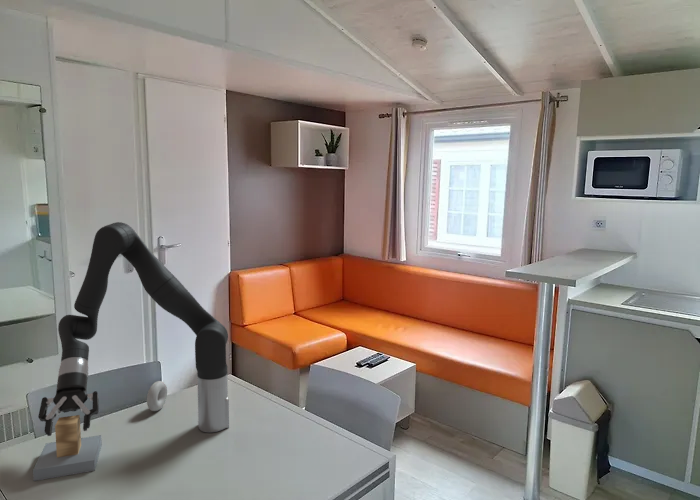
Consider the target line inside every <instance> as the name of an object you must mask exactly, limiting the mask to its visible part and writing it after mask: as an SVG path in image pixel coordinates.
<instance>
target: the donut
mask: <svg viewBox="0 0 700 500" xmlns="http://www.w3.org/2000/svg"><path fill="white" fill-rule="evenodd" d="M167 398H168V387H167V384H166V383H165V381H162V380H157V381H154V383H153V384H151V385H150V387H149V389H148V391H147V395H146V406H147V407H148V409H149V410H150V411H152V412H158V411H159V410H161V409H162V408H163V407H164V405H165V403H166V400H167Z"/></svg>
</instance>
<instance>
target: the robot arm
mask: <svg viewBox="0 0 700 500" xmlns="http://www.w3.org/2000/svg"><path fill="white" fill-rule="evenodd" d="M91 249H92V250H91V254H90V257H89V258H90V259H89V263H88V266H87V270H86V274H85V275H84V276H85V277H84V278H83V282H82V284H81V287H80V288H79V292H78V294H77V296H76V299H75V301H74V305H73V307H74V310H75V311H76V312H78V313H79V314H82V315H84V316H81V315H76V314H67V315H63V317H62V318H61V319H60V320H59V322H58V328H57V330H58V336H59V340H60V343H61V359H60V365H59V368H58V375H57V383H56V392H55V395H54V397H53V398H52V397H51V398H49V397H48V398H47V397H46V396H43V397H42V398H41V403H40V406H39V412H38V419H39V421H40V422H44V433H45V435H47V437H51V436H52V434H53V433H52V432H53V424H54V422H53V421H54V420H55V419H56V418H58V416H60V414H62V413H68V412H76V411H78V410H80V411H81V413H83V425H82V430H83V431H84V432H87V431H88V429H90V427H91V419H92V416H95V415H98V414H99V409H100V408H99V393H98V391H97V390H96V391H92V393H87V388H88V379H89V378H88V377H89V356H90V355H89V353H90V346H89V345H88V343H86V342H84V341H85V340H86V341H88V340H91V339H92V338H94V337H95V335H96V334H97V332H98V319H99V318H98V316H99V312H100V309H101V305H102V303H103V302H104V299H105V296H106V293H107V291H108V285H109V284H108V283H109V274H110V271H111V269H112V267H113V265H114V263H115V261H116V260H117V258H118V257H119V256H120V255H121V256H123V258H124V259H126V260H127V261H128V262H129V263H130V264H131V265H132V267H133V268H134V269H135V271H136V272H137V273H136V274H137V275H138V278H139V281H140V283H141V285H142V287H143V289H144V291H145V292H146V293H147V295H149V297H150V298H151V299H152V300H154V301H153V302H155V303H156V304H157V305H158V306H159V307H161V308H162V310H164V311H166V312H167V313H169V314H171V315H173V316H174V317H176V318H178V319H179V320H181V321H182V322H183V323H185V324H186V325H187V326H188V327H189V329H191V331H192V332H193V333H194V334H195V336H196V337H195V341H194V356H195V357H194V359H195V368H196V374H197V376H196V377H197V378H196V379H197V380H196V381H197V413H198V414H197V417H198V418H197V422H198V423H197V424H198V429H199V431H201V432H204V433H217V432H220V431H223V430H225V429H228V428H230V399H229V395H228V394H229V388H228V387H229V385H228V384H229V383H228V380H229V379H228V364H227V350H226V349H227V348H226V347H227V346H226V345H227V343H228V339H229V334H228V330H227V328H226V327H225V325H223V324H222V323H221V322H220V321H219V320H218V319H216V318H215V317H214V316H213V315H212V314H211V313H209V312H208V311H207V310H206V309H205V308H204V307H203V306H202V305H201V304H200V303H199V302H198V300H197V299H196V298H195V297H194V296H193V295H192V293H191V292H190V291H188V288H186V287H185V286H184V284H182V282H181V281H180V280H179V279H178V278H177V277H176V276H175V275H174V274H173V273H172V272H171V271H170V270H169V269H168V268H167V266H165V265H164V264H163V263H162V262H161V260H159V258H158V257H156V255H154V254H153V252H152V251H151V250H150V249H149V248H148V247H147V245H146V244H145V242H144V241H143V240H142V238H141V237H140V236H139V235H138V233H137V232H136V231H135V230H134V228H133V227H132V226H130V225H129V224H127V223H125V222H122V221H121V222H120V221H117V222H112V223H110V224H107V225H104V226H102V227H100V228H99V229H98V230H97V232H95V235H94V238H93V243H92V247H91ZM81 340H84V341H81ZM88 399H89V400H90V402H92V409H91V408H90V409H89V408H88V407H87V406H86V404H85V403H86V401H87V400H88ZM51 404H54V405H55V406H54V407H53V408H52V409H51V410H50V411H49V413H48V408H49V407H51V406H52V405H51ZM47 413H48V414H47Z"/></svg>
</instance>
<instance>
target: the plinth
mask: <svg viewBox="0 0 700 500" xmlns="http://www.w3.org/2000/svg"><path fill="white" fill-rule="evenodd" d="M102 440H103V439H102V434H100V435H99V434H98V435H94V436H87V437H81V447H80V450H79V453H78V454H77V455H70V456H64V457H58V458H57V451H56V441H53V442H46V443H45V445H44V447H43V449H42V450H41V452H40V454H39V457H38V459H37V461H36V463H35V466H34V467H33V469H32V475H33V482H35V481H42V480H46V479H53V478H59V477H65V476H70V475H78V474H83V473H88V472H93V471H94V472H95V471H96V468H97V464H98V460H99V457H100V453H101V449H102V448H101V447H102V445H103V444H102Z"/></svg>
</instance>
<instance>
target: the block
mask: <svg viewBox="0 0 700 500" xmlns="http://www.w3.org/2000/svg"><path fill="white" fill-rule="evenodd" d="M54 429H55V430H54V431H55V432H54V433H55V442H56V451H57V458H58V457H64V456H70V455H77V454H78V453H79V450H80V447H81V438H82V433H81V432H82V431H81V415H80V414H77V415H76V414H75V415H70V416H61V417H58V419H57V420H56V423H55V425H54Z"/></svg>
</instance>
